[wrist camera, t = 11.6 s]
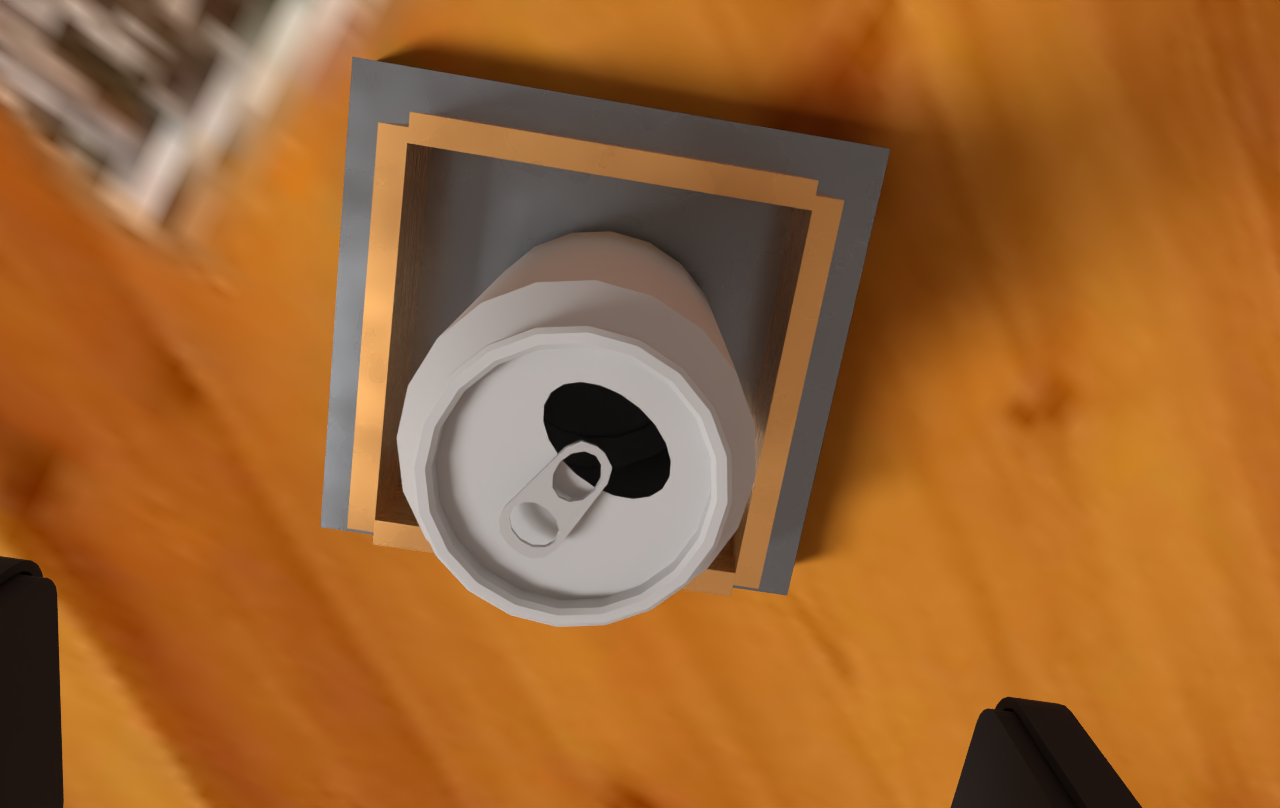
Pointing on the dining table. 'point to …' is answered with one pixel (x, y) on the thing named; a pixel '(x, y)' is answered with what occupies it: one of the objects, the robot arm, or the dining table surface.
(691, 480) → the can
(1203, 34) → the dining table surface
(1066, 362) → the dining table surface
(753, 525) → the open square box
